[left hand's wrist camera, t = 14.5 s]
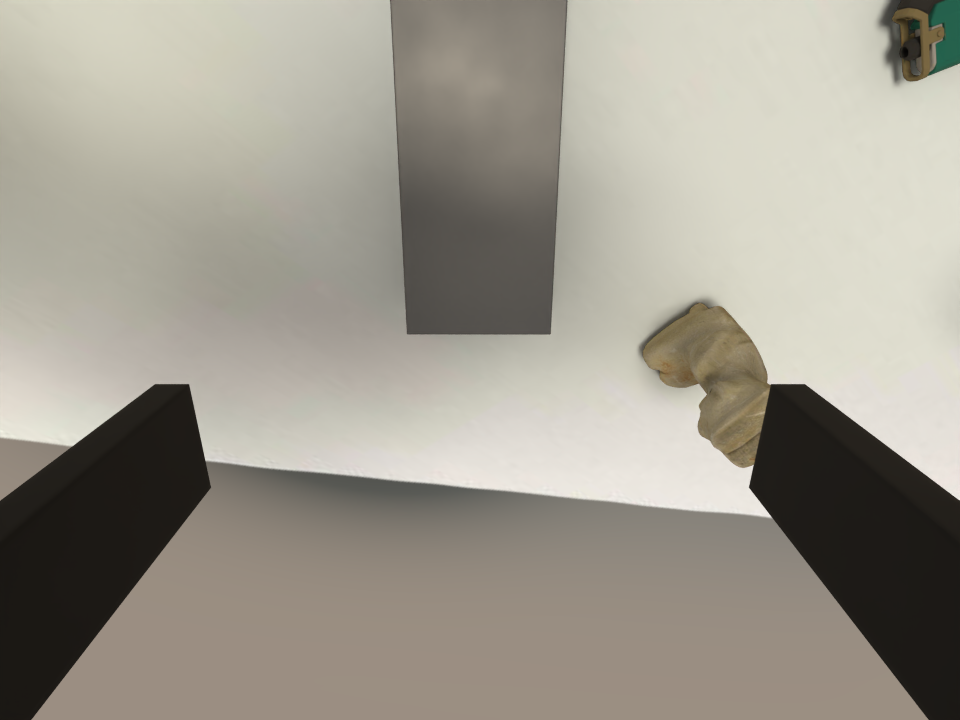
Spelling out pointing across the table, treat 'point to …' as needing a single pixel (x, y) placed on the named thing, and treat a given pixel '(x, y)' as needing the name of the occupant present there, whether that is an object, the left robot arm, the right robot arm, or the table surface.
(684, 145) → the table surface
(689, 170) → the table surface
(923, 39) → the spray gun
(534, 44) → the long beam
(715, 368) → the sculpture
